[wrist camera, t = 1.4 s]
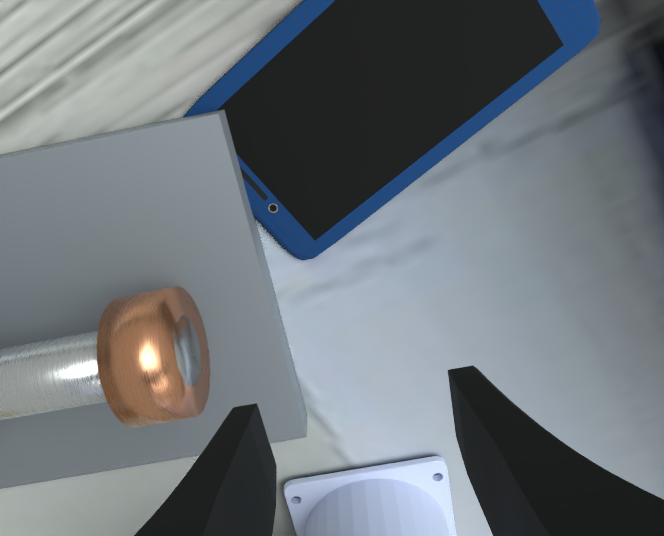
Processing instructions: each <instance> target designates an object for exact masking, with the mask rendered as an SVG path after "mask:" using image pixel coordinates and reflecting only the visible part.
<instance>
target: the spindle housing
mask: <svg viewBox="0 0 664 536" xmlns="http://www.w3.org/2000/svg"><path fill="white" fill-rule="evenodd" d="M175 286H179V287H182V288H183V289H185V290H186V291H187V292H188V293H189V294H190V296H191V297H192V299H193V300H194V302H195V304H196V306H197V308H198V311H199V313H200V316H201V318H202V322H203V325H204V329H205V332H206V337H207V342H208V348H209V357H210V389H209V395H208V400H207V403H206V406H205V408H204V410H203V412H202V413H201V414H200V415H199V416H198V417H194V418H188V419H183V420H177V421H171V422H165V423H160V424H154V425H148V426H142V427H136V428H132V427H128V426H126V425H125V424H123V423H122V422H121V421H120V420H119V419H118V418H117V417H116V416H115V415H114V413H113V411H112V410H111V408H110V406H109V404H108V402H101V403H96V404H90V405H84V406H79V407H73V408H67V409H62V410H56V411H50V412H45V413H39V414H33V415H28V416H22V417H17V418H11V419H5V420H0V489H2V488H8V487H14V486H20V485H26V484H32V483H38V482H44V481H49V480H55V479H61V478H67V477H73V476H79V475H85V474H91V473H97V472H103V471H109V470H114V469H120V468H126V467H132V466H138V465H144V464H150V463H156V462H162V461H168V460H174V459H179V458H185V457H191V456H197V455H201V453H202V452H203V451H204V449H205V448H206V446H207V445H208V443H209V442H210V440H211V439H212V438H213V436H214V435H215V433H216V432H217V430H218V429H219V427H220V426H221V424H222V423H223V421H224V420H225V418H226V417H227V415H228V414H229V413H230V411H231V410H232V408H233V407H238V406H244V405H250V404H255V403H257V404H258V408H259V411H260V414H261V417H262V421H263V424H264V427H265V430H266V434H267V437H268V440H269V443H274V442H280V441H286V440H292V439H298V438H304V437H306V433H307V412H306V409H305V405H304V401H303V397H302V394H301V390H300V386H299V382H298V378H297V375H296V371H295V367H294V363H293V360H292V356H291V352H290V348H289V345H288V341H287V337H286V333H285V329H284V326H283V322H282V318H281V314H280V311H279V307H278V303H277V299H276V295H275V292H274V288H273V284H272V280H271V277H270V273H269V269H268V265H267V262H266V258H265V254H264V250H263V246H262V243H261V239H260V235H259V231H258V228H257V224H256V220H255V216H254V215H253V213H252V210H251V207H250V203H249V200H248V196H247V192H246V189H245V185H244V181H243V177H242V174H241V170H240V166H239V162H238V159H237V155H236V151H235V148H234V144H233V140H232V136H231V133H230V129H229V125H228V121H227V118H226V114H225V110H219V111H214V112H209V113H204V114H199V115H194V116H190V117H184V118H183V117H181V118H176V119H171V120H167V121H162V122H157V123H152V124H147V125H142V126H138V127H133V128H128V129H123V130H118V131H113V132H109V133H104V134H99V135H94V136H89V137H84V138H79V139H75V140H70V141H65V142H60V143H55V144H50V145H46V146H41V147H36V148H31V149H26V150H21V151H17V152H12V153H7V154H2V155H0V349H3V348H9V347H14V346H19V345H25V344H30V343H36V342H41V341H46V340H52V339H57V338H63V337H68V336H73V335H79V334H84V333H90V332H95V331H98V328H99V323H100V320H101V317H102V314H103V312H104V310H105V308H106V306H107V305H108V304H109V303H110V302H111V301H112V300H113V299H115V298H118V297H122V296H127V295H133V294H138V293H143V292H149V291H154V290H159V289H165V288H170V287H175Z"/></svg>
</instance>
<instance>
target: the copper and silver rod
mask: <svg viewBox="0 0 664 536" xmlns="http://www.w3.org/2000/svg"><path fill="white" fill-rule="evenodd" d="M209 389H210V357H209V348H208V342H207V337H206V332H205V329H204V325H203V322H202V318H201V316H200V313H199V311H198V308H197V306H196V304H195V302H194V300H193V299H192V297H191V296H190V294H189V293H188V292H187V291H186V290H185V289H183V288H182V287H179V286H175V287H170V288H165V289H159V290H154V291H149V292H143V293H138V294H133V295H127V296H122V297H118V298H115V299H113V300H112V301H111V302H110V303H109V304H108V305H107V306H106V308H105V310H104V312H103V314H102V317H101V320H100V323H99V328H98V331H95V332H90V333H84V334H79V335H73V336H68V337H63V338H57V339H52V340H46V341H41V342H36V343H30V344H25V345H19V346H14V347H9V348H3V349H0V420H5V419H11V418H17V417H22V416H28V415H33V414H39V413H45V412H50V411H56V410H62V409H67V408H73V407H79V406H84V405H90V404H96V403H101V402H108V404H109V406H110V408H111V410H112V411H113V413H114V415H115V416H116V417H117V418H118V419H119V420H120V421H121V422H122V423H123V424H125V425H126V426H128V427H132V428H136V427H142V426H148V425H154V424H160V423H165V422H171V421H177V420H183V419H188V418H194V417H198V416H199V415H200V414H201V413H202V412H203V410H204V408H205V406H206V403H207V400H208V395H209Z"/></svg>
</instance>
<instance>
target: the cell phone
mask: <svg viewBox="0 0 664 536" xmlns="http://www.w3.org/2000/svg"><path fill="white" fill-rule="evenodd" d="M600 22H601V19H600V16H599V14H598V11H597V8H596V6H595V3H594V0H303V1H302V2H301V3H300V4H299V5H298V6H297V7H296V8H295V9H294V10H293V11H292V12H291V13H290V14H288V15H287V16H286V17H285V18H284V19H283V20H282V21H281V22H280V23H279V24H278V25H277V26H276V27H275V28H274V29H273V30H271V31H270V32H269V33H268V34H267V35H266V36H265V37H264V38H263V39H262V40H261V41H260V42H259V43H258V44H257V45H256V46H254V47H253V48H252V49H251V50H250V51H249V52H248V53H247V54H246V55H245V56H244V57H243V58H242V59H241V60H240V61H239V62H237V63H236V64H235V65H234V66H233V67H232V68H231V69H230V70H229V71H228V72H227V73H226V74H225V75H224V76H223V77H222V78H220V79H219V80H218V81H217V82H216V83H215V84H214V85H213V86H212V87H211V88H210V89H209V90H208V91H207V92H206V93H205V94H203V95H202V96H201V97H200V98H199V99H198V100H197V101H196V103H195V104H194V105H193V106H192V107H191V108H190V109H189V111H188V112H187V113H186V114H185V115H184V116H183V118H184V117H190V116H194V115H199V114H204V113H209V112H214V111H219V110H225V114H226V118H227V121H228V125H229V129H230V133H231V136H232V140H233V144H234V148H235V151H236V155H237V159H238V162H239V166H240V170H241V174H242V177H243V181H244V185H245V189H246V192H247V196H248V200H249V203H250V207H251V210H252V213H253V215H254V216H255V217H256V219H257V220H258V221H259V222H260V223H261V224H262V225H263V226H264V227H265V228H266V229H267V230H268V231H269V232H270V234H271V235H272V236H273V237H274V238H275V239H276V240H277V241H278V242H279V243H280V244H281V245H282V246H283V247H284V248H285V249H286V250H287V251H288V252H290V253H291V254H292V255H293V256H294V257H296V258H298V259H301V260H306V259H312V258H314V257H316V256H317V255H319V254H320V253H322V252H323V251H324V250H326V249H327V248H329V247H330V246H332V245H333V244H334V243H336V242H337V241H338V240H340V239H341V238H342V237H344V236H345V235H346V234H347V233H349V232H350V231H351V230H353V229H354V228H355V227H356V226H358V225H359V224H360V223H361V222H363V221H364V220H365V219H367V218H368V217H369V216H370V215H372V214H373V213H374V212H376V211H377V210H378V209H379V208H381V207H382V206H383V205H385V204H386V203H387V202H388V201H390V200H391V199H392V198H393V197H395V196H396V195H397V194H399V193H400V192H401V191H402V190H404V189H405V188H406V187H408V186H409V185H410V184H411V183H413V182H414V181H415V180H416V179H418V178H419V177H420V176H422V175H423V174H424V173H425V172H427V171H428V170H429V169H431V168H432V167H433V166H434V165H436V164H437V163H438V162H439V161H441V160H442V159H443V158H445V157H446V156H447V155H448V154H450V153H451V152H452V151H454V150H455V149H456V148H457V147H459V146H460V145H461V144H463V143H464V142H465V141H466V140H468V139H469V138H470V137H471V136H473V135H474V134H475V133H477V132H478V131H479V130H480V129H482V128H483V127H484V126H486V125H487V124H488V123H489V122H491V121H492V120H493V119H494V118H496V117H497V116H498V115H500V114H501V113H502V112H503V111H505V110H506V109H507V108H509V107H510V106H511V105H512V104H514V103H515V102H516V101H517V100H519V99H520V98H521V97H523V96H524V95H525V94H526V93H528V92H529V91H530V90H532V89H533V88H534V87H535V86H537V85H538V84H539V83H540V82H542V81H543V80H544V79H546V78H547V77H548V76H549V75H551V74H552V73H553V72H555V71H556V70H557V69H558V68H560V67H561V66H562V65H564V64H565V63H566V62H567V61H569V60H570V59H571V58H572V57H574V56H575V55H576V54H578V53H579V52H580V51H581V50H582V49H583V48H584V47H585V46H586V45H587V44H588V43H590V42H591V41H592V40H593V39H594V38H595V37H596V36H597V35H598V33H599V28H600Z"/></svg>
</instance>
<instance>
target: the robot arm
mask: <svg viewBox="0 0 664 536" xmlns="http://www.w3.org/2000/svg"><path fill="white" fill-rule="evenodd" d="M448 375H449V383H450V391H451V399H452V407H453V415H454V423H455V431H456V437H457V441H458V444H459V448H460V451H461V454H462V458H463V461H464V464H465V468H466V471H467V474H468V477H469V479H470V482H471V484H472V486H473V489H474V491H475V494H476V496H477V498H478V501H479V503H480V506H481V508H482V510H483V513H484V515H485V517H486V520H487V522H488V524H489V527H490V529H491V532H492V534H493V536H664V500H663V499H661V498H659V497H657V496H655V495H653V494H651V493H649V492H647V491H644V490H643V489H641V488H639V487H637V486H635V485H633V484H631V483H629V482H627V481H625V480H624V479H622V478H620V477H618V476H616V475H614V474H612V473H610V472H609V471H607V470H605V469H603V468H602V467H600V466H598V465H597V464H595V463H593V462H592V461H590V460H589V459H587V458H585V457H584V456H582V455H581V454H579V453H578V452H576V451H575V450H573V449H572V448H570V447H569V446H567V445H566V444H565V443H563V442H562V441H560V440H559V439H558V438H556V437H555V436H554V435H552V434H551V433H550V432H548V431H547V430H546V429H544V428H543V427H542V426H540V425H539V424H538V423H537V422H535V421H534V420H533V419H532V418H530V417H529V416H528V415H527V414H526V413H524V412H523V411H522V410H521V409H520V408H518V407H517V406H516V405H515V404H514V403H513V402H512V401H510V400H509V399H508V398H507V397H506V396H505V395H504V394H503V393H502V392H501V391H499V390H498V389H497V388H496V387H495V386H494V385H493V384H492V383H491V382H490V381H489V380H488V379H487V378H486V377H485V376H484V375H483V374H482V373H481V372H480V371H479V370H478V369H477V368H476V367H474V366H468V367H463V368H457V369H451V370H448ZM436 473H440V474H438V475H434V474H436ZM284 496H285V499H286V502H287V505H288V508H289V512H290V515H291V518H292V521H293V525H294V528H295V531H296V534H297V536H456V530H455V523H454V515H453V508H452V501H451V494H450V487H449V479H448V472H447V466H446V463H445V460H444V459H443V458H442V457H439V456H433V457H427V458H421V459H415V460H408V461H402V462H396V463H390V464H384V465H378V466H372V467H366V468H360V469H354V470H348V471H342V472H336V473H330V474H324V475H317V476H311V477H305V478H299V479H293V480H290V481H288V482H286V483H285V485H284ZM294 496H298V498H294ZM275 509H276V463H275V459H274V456H273V453H272V450H271V447H270V443H269V440H268V437H267V434H266V430H265V427H264V424H263V421H262V417H261V414H260V411H259V408H258V404H257V403H255V404H250V405H244V406H238V407H233V408H232V410H231V411H230V413H229V414H228V415H227V417H226V418H225V420H224V421H223V423H222V424H221V426H220V427H219V429H218V430H217V432H216V433H215V435H214V436H213V438H212V439H211V440H210V442H209V443H208V445H207V446H206V448H205V449H204V451H203V452H202V453H201V455H200V456H199V458H198V459H197V460H196V462H195V463H194V465H193V466H192V467H191V469H190V470H189V472H188V473H187V474H186V476H185V477H184V478H183V479H182V481H181V482H180V483H179V485H178V486H177V487H176V488H175V490H174V491H173V492H172V493H171V495H170V496H169V497H168V498H167V500H166V501H165V502H164V503H163V504H162V506H161V507H160V508H159V509H158V510H157V511H156V513H155V514H154V515H153V516H152V517H151V518H150V519H149V520H148V521H147V522H146V523H145V525H144V526H143V527H142V528H141V529H140V530H139V531H138V532H137V533H136V534H135V535H134V536H272V532H273V524H274V517H275Z"/></svg>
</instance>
